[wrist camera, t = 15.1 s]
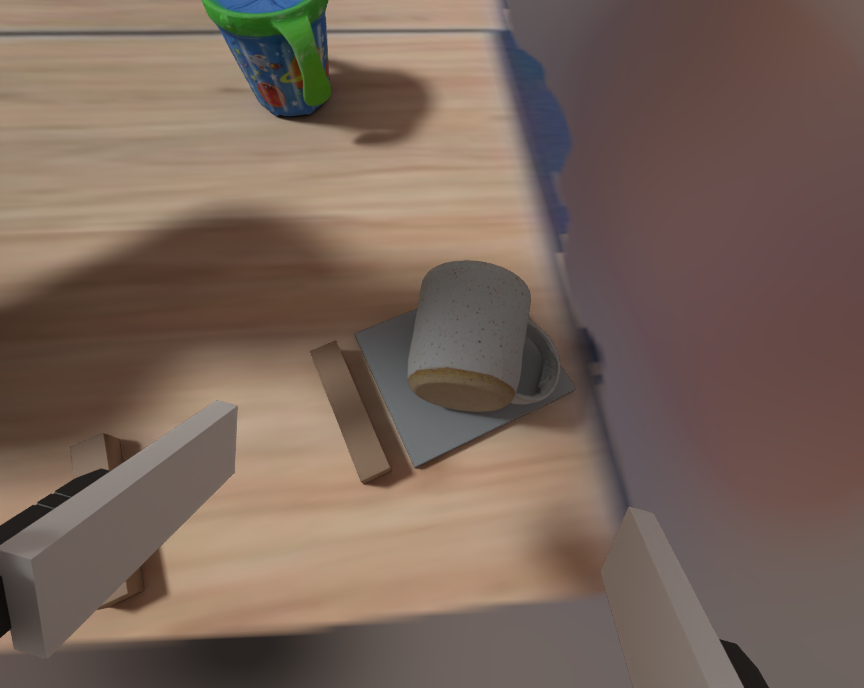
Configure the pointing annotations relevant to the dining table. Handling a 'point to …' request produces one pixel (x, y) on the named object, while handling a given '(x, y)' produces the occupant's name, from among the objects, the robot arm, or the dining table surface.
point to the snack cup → (278, 50)
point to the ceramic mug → (475, 339)
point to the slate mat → (431, 424)
